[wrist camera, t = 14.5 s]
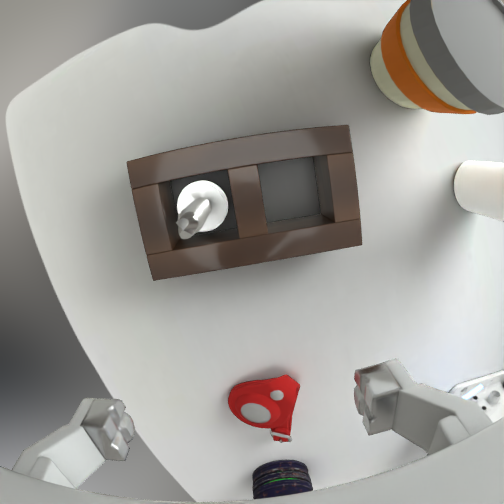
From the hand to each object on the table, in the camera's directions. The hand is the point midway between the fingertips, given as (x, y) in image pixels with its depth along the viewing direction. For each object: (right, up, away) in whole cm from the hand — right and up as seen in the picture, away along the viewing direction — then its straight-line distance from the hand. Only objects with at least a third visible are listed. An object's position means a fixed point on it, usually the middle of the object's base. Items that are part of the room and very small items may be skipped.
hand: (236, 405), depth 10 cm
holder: (0, +11, +21) cm, 24 cm away
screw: (-4, +10, +22) cm, 24 cm away
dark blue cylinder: (+5, -33, +34) cm, 48 cm away
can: (+28, +13, +22) cm, 38 cm away
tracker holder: (+2, -15, +29) cm, 33 cm away
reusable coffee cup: (+18, +25, +18) cm, 36 cm away
